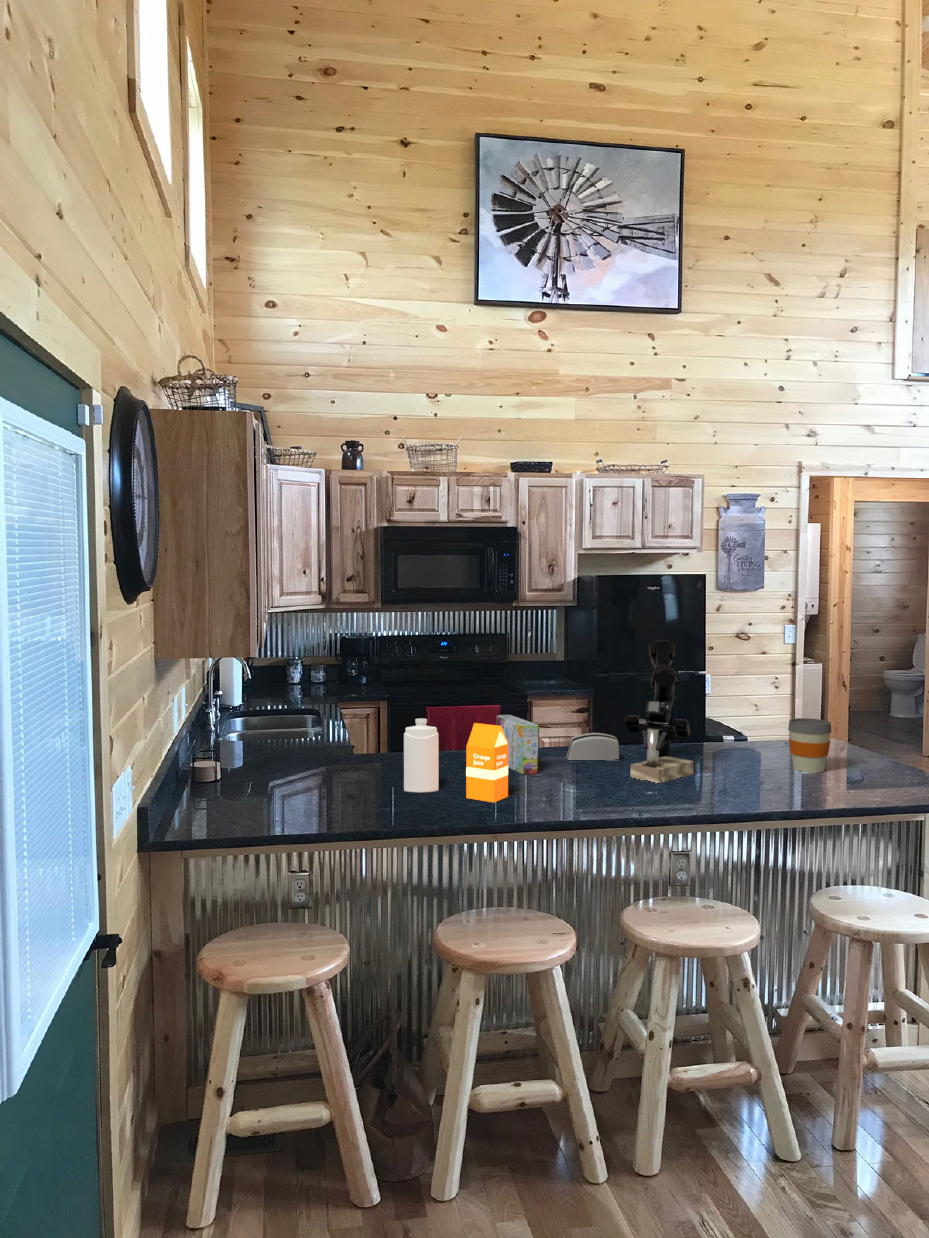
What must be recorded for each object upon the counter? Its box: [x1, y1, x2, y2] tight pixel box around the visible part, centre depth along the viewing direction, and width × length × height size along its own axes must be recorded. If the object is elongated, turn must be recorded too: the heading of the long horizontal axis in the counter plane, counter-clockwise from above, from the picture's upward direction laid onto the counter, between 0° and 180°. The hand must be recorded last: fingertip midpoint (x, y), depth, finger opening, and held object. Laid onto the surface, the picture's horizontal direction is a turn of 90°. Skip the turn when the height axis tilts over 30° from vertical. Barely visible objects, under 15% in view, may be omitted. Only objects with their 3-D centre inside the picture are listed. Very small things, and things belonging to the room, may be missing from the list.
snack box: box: [495, 714, 540, 776], centre depth 304 cm, size 21×6×15 cm, turn 22°
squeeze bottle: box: [403, 717, 440, 793], centre depth 274 cm, size 10×20×5 cm
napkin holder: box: [566, 732, 620, 761], centre depth 316 cm, size 17×5×10 cm, turn 96°
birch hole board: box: [629, 756, 695, 784], centre depth 293 cm, size 18×10×4 cm, turn 134°
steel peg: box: [646, 728, 659, 768], centre depth 289 cm, size 4×4×12 cm
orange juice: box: [465, 722, 509, 803], centre depth 267 cm, size 8×9×20 cm
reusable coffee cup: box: [787, 717, 833, 774], centre depth 302 cm, size 13×13×15 cm
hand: (651, 749), depth 288 cm, fingers closed on steel peg, 3 cm apart
